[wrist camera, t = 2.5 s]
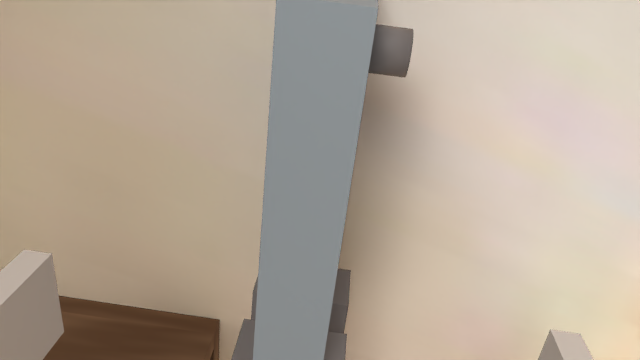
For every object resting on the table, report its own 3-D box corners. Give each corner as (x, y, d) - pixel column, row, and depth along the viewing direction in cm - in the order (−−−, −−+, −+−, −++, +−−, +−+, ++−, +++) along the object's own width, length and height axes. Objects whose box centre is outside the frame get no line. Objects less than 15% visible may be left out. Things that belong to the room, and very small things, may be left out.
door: (296, -40, 21) (242, -10, 12) (408, -26, 21) (435, 15, 12) (270, 282, 29) (226, 441, 20) (352, 295, 29) (343, 459, 20)
